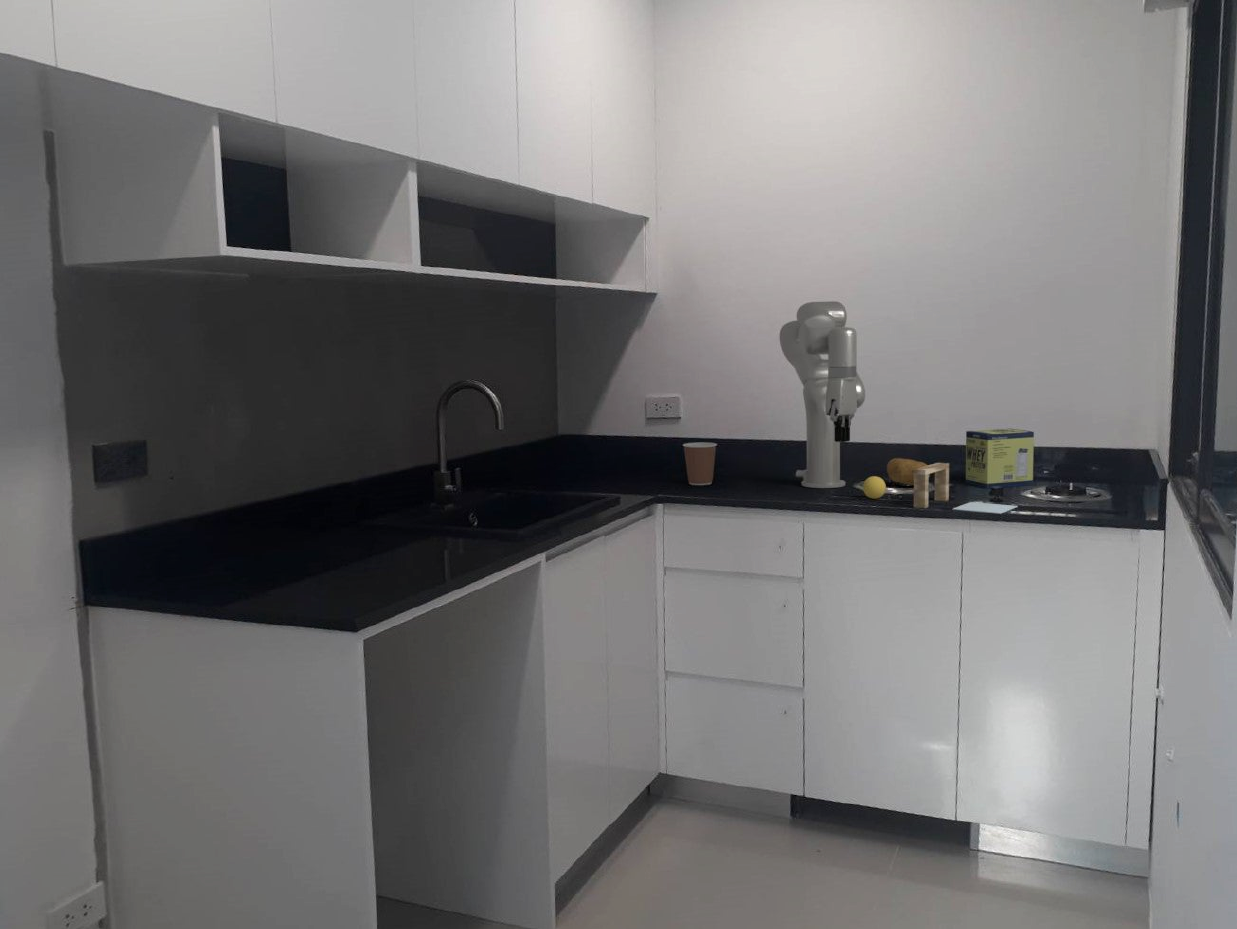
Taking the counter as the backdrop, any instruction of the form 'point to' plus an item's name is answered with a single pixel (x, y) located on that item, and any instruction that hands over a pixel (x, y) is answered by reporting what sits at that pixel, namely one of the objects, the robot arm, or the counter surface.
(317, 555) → the counter surface
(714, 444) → the coffee cup
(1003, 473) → the protein box
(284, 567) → the counter surface
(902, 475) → the potato
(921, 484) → the bridge
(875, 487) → the ball
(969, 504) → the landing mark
